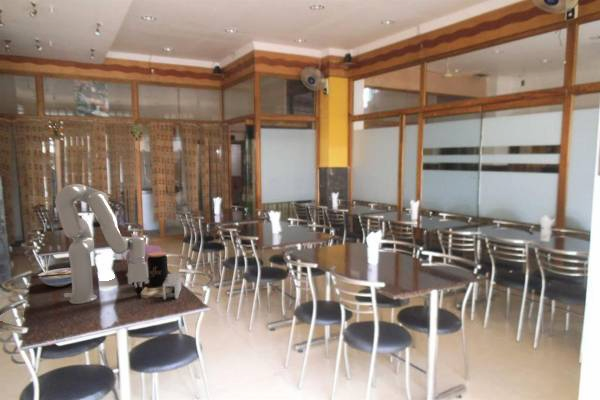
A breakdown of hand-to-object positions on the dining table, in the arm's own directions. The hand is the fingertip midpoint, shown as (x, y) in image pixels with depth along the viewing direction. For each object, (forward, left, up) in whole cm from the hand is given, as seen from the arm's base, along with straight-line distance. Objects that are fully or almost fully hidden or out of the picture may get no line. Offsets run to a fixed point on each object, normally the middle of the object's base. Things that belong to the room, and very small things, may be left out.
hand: (139, 293), depth 224 cm
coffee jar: (+7, +20, -1) cm, 21 cm away
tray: (+9, 0, -1) cm, 9 cm away
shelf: (+17, 0, -1) cm, 17 cm away
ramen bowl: (-49, +30, -1) cm, 58 cm away
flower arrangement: (-7, +46, -1) cm, 46 cm away
